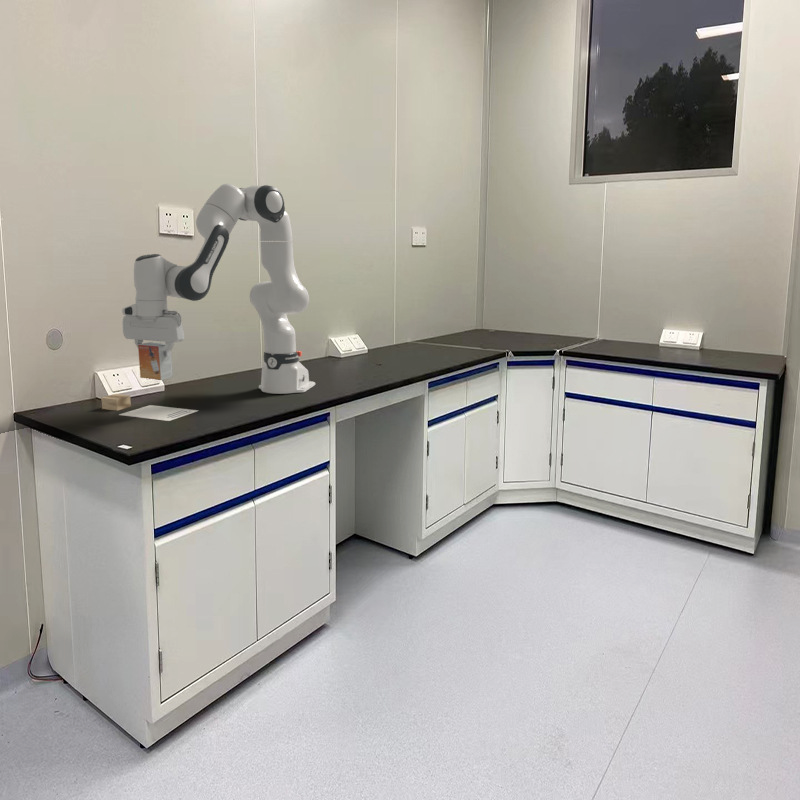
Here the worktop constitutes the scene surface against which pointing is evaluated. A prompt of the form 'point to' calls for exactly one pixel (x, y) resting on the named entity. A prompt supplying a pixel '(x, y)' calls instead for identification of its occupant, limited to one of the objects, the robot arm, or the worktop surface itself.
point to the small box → (154, 361)
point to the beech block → (116, 402)
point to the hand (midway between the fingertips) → (155, 355)
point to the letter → (159, 412)
